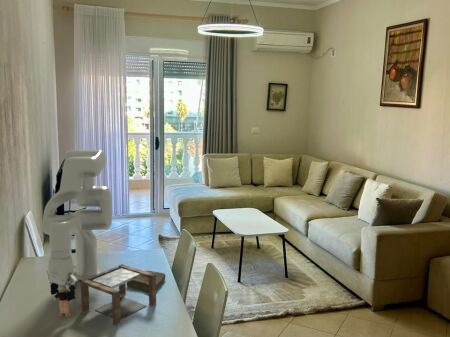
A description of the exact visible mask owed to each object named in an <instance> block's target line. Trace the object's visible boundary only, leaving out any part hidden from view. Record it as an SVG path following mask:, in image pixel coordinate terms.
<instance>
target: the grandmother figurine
mask: <svg viewBox="0 0 450 337" xmlns="http://www.w3.org/2000/svg"><path fill="white" fill-rule="evenodd" d="M58 290H59V292H58V293H56V294H54V298H53V301H54V302H56V301H57V300H59V302H58V304H59V306H58V307H59V315H58V317H63V316H64V317H65V318H66V317H70V316H72V312H71V311H70V309H69V305H70V304H72V303H73V300H70V301H67V293H66V291H68V290H67V288H66V286H61V285H59V287H58Z"/></svg>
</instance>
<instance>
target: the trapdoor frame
mask: <svg viewBox="0 0 450 337" xmlns="http://www.w3.org/2000/svg"><path fill="white" fill-rule="evenodd" d="M117 267H120V269H121V268H122V269H126V270H129V271H132V272H135V273H138V274H140V275H141V276H144V277H147V278H149V293H148V305H149V306H150V307H151V306H152V307H155V306H156V305H157V291H156V275H155V274H152V273H149V272H146V271H147V270H141V269H138V268H135V267H131V266H129V265H125V264H119V265H117ZM113 272H114V271H113ZM108 274H109V273H108ZM103 276H104V275H103ZM98 278H99V277H98ZM93 280H94V279H93ZM126 287H127V282H126V283H124V284H122V285H120V286H118V289H115V288H113V289H112V288H109V287H106V286H103V285H101V284H98V283H95V282H92V280H91V281H89V280H86V279H83V280H80V297H81V298H80V300H81V301H80V302H81V312H82V313H85V314H86V313H88V312H90V293H89V292H90V289H89V288H91V289H93V290H94V289H95V290H97V291H100V292H103V293H105V294H107V295H111V301H110V302H108V303H106V304H104V305H102V306H100V307H98V308H96V309H94V311H95V312H98V313H101V314H103V315H106V316H108V317H111V318H112V325H113V326H116V327H118V326H119V325H121V320H124V319H125V318H127V317H129V316H131V315H133V314H134V313H137V312H138V311H140V310H143V309H145V308H146V307H147V304H144V303H140V302H137V301H135V300H132V299H129V298H128V297H124V295H126V294H127V288H126Z"/></svg>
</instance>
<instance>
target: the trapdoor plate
mask: <svg viewBox="0 0 450 337" xmlns="http://www.w3.org/2000/svg"><path fill="white" fill-rule="evenodd" d="M113 271H114V272H113ZM108 273H109V274H108ZM103 275H104V276H103ZM98 277H99V278H98ZM137 277H140V274H138V273H135V272H132V271H129V270H126V269H122V268H121V269H120V267H118V266H115V267H112V268H109V269H107V270H104V271H101V273H99V274H97V275H94V276H92V277H89V278H88V280H89V281H91V280H92V282H95V283H98V284H101V285H103V286H106V287H109V288H112V289H115V288H117V287H119V286H120V285H122V284H124V283H126V284H127V282H128V281H131V280H133V279H135V278H137ZM93 279H94V280H93Z"/></svg>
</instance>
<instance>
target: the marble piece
mask: <svg viewBox="0 0 450 337" xmlns="http://www.w3.org/2000/svg"><path fill="white" fill-rule="evenodd" d="M145 271H146V272H149V273H152V274H155V275H156V292H157V291H158V290H159V289H160V288H161V286H162V285H161V284H164V283H165V280H166V273H163V272H159V271H153V270H145ZM126 287H128V288H129V289H133V290H136V291H140V292H143V293H145V294H149V278H147V277H144V276H141V275H140V277H137V278H135V279H133V280H131V281H128V282H126ZM159 287H160V288H159Z"/></svg>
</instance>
